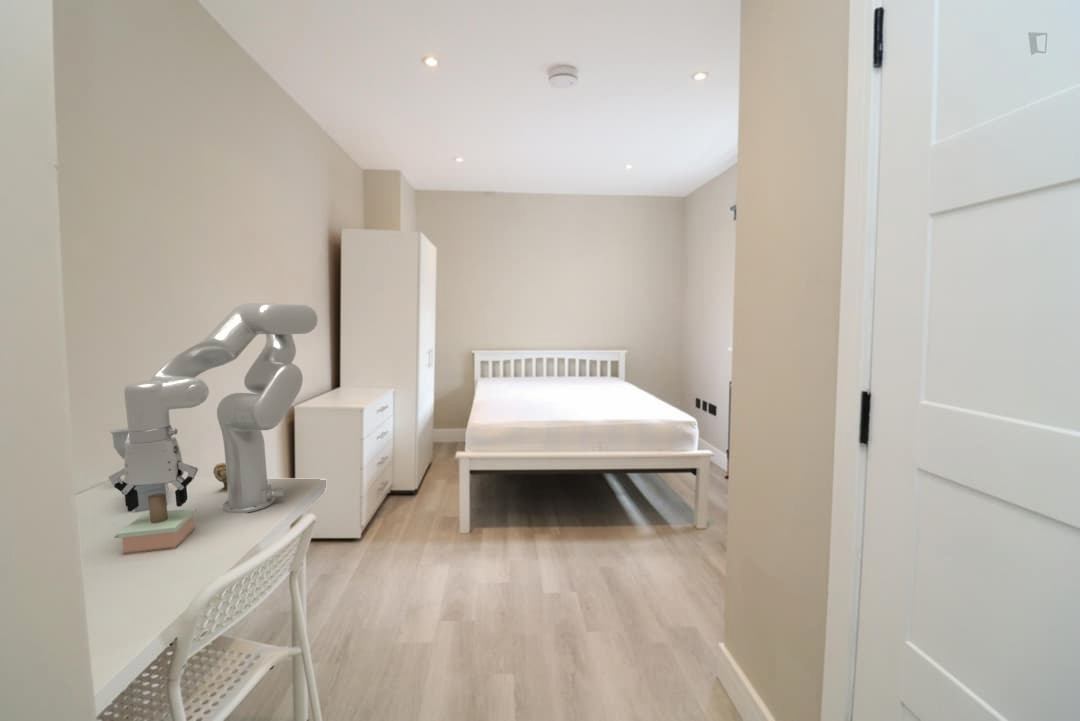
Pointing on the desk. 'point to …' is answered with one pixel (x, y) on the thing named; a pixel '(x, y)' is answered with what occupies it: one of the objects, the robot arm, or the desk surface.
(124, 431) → the chalice
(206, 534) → the desk surface
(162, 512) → the lid
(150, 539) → the dish
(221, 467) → the lion figurine
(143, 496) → the hard drive box
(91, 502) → the desk surface
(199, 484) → the desk surface
